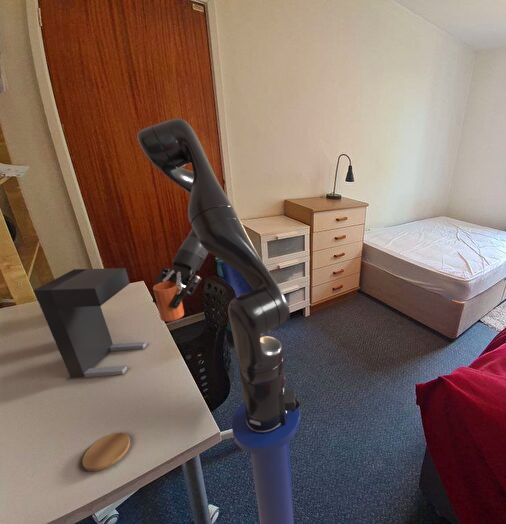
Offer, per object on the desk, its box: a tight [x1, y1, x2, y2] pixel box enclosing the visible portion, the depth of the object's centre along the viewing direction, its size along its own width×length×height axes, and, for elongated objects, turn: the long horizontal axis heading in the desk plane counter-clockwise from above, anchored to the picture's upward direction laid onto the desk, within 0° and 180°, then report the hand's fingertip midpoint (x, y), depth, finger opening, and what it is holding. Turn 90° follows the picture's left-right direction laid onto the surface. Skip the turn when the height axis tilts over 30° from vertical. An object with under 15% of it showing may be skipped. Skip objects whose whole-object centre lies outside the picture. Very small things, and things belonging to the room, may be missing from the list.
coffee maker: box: [33, 267, 148, 379], centre depth 79 cm, size 13×13×27 cm
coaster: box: [81, 432, 131, 472], centre depth 58 cm, size 8×8×1 cm
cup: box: [152, 281, 185, 322], centre depth 81 cm, size 6×6×10 cm
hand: (164, 305), depth 80 cm, fingers closed on cup, 6 cm apart
